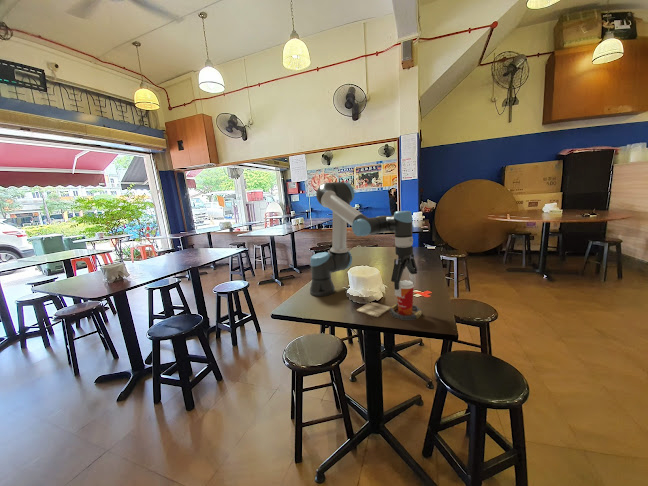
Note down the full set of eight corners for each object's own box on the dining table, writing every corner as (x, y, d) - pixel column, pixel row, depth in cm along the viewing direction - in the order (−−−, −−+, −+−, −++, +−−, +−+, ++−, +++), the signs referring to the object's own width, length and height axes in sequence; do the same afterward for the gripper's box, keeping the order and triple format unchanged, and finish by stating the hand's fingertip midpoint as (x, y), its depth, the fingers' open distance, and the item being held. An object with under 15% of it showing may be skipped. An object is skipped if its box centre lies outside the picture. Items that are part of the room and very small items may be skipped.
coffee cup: (393, 310, 121) (392, 280, 118) (410, 308, 121) (409, 279, 119) (400, 318, 112) (399, 286, 110) (417, 316, 113) (417, 284, 110)
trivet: (356, 310, 123) (356, 309, 123) (370, 302, 131) (370, 301, 131) (377, 317, 115) (377, 316, 115) (391, 308, 123) (391, 307, 123)
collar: (385, 314, 117) (385, 310, 116) (399, 305, 126) (399, 301, 125) (412, 322, 108) (412, 318, 107) (425, 312, 117) (425, 307, 116)
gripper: (397, 251, 100) (399, 302, 103) (424, 241, 117) (425, 285, 121) (381, 250, 105) (383, 298, 109) (409, 241, 123) (410, 282, 126)
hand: (405, 291), depth 115 cm, fingers open, 13 cm apart
